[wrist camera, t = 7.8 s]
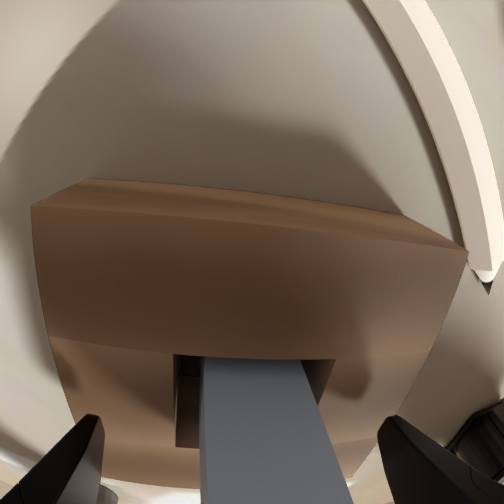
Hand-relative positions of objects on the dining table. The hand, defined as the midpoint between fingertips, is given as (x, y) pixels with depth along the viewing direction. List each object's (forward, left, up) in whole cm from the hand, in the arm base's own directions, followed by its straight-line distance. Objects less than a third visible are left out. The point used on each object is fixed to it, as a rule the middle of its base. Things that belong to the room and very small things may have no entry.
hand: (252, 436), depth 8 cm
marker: (+9, -8, -6) cm, 13 cm away
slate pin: (0, 0, -5) cm, 5 cm away
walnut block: (0, 0, -5) cm, 5 cm away
